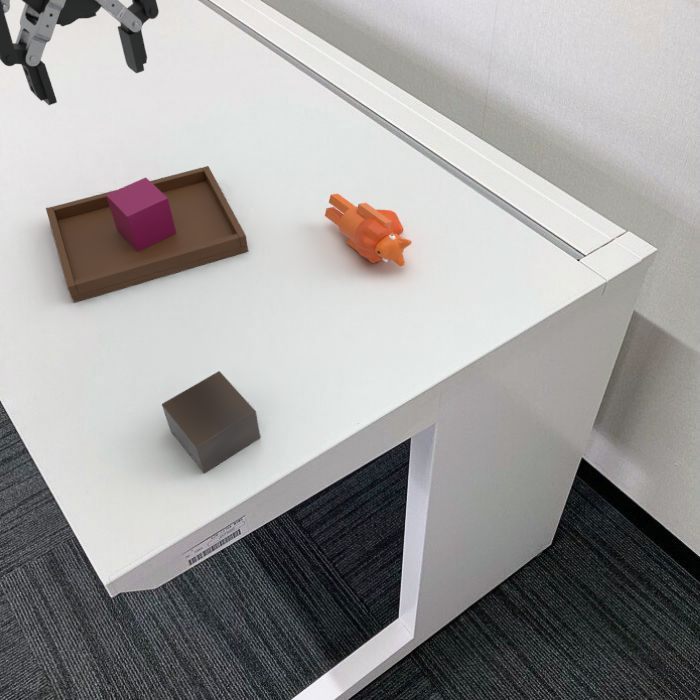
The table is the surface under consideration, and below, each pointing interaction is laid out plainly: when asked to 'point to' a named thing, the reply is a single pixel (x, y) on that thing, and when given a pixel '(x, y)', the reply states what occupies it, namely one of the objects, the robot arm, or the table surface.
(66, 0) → the robot arm
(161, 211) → the mulberry block
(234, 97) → the table surface
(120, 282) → the tray
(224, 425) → the dark brown block
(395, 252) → the orange toy animal
